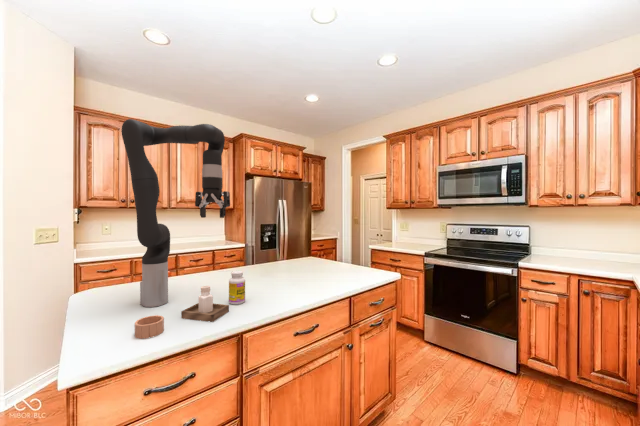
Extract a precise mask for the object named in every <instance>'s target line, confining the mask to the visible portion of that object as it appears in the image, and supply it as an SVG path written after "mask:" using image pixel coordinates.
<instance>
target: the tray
mask: <svg viewBox="0 0 640 426" xmlns="http://www.w3.org/2000/svg"><path fill="white" fill-rule="evenodd" d="M229 312H230V305H229V304H220V303H215V302H213V311H212V312H209V313H200V312H199V302H197V303H195V304H193V305H191V306H189V307H187V308H186V309H184V310H181V313H180V314H181V315H180V318H181V319H184V320H190V321H191V320H194V321H200V320H201V322H208V321H210V322H209V323H214V322H215V321H217V320H219V318H221V317H223V316H225V315H226V314H227V313H229Z"/></svg>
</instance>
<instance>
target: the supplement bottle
mask: <svg viewBox="0 0 640 426" xmlns="http://www.w3.org/2000/svg"><path fill="white" fill-rule="evenodd" d="M230 274H231V275H230V276H231V277H230V278H229V279H228V302H229V304H231V305H241V304H243V303H245V301H246V278H245V277H244V276H243V275H244V271H242V270H234V271H232V272H231V273H230Z"/></svg>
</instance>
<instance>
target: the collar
mask: <svg viewBox="0 0 640 426" xmlns="http://www.w3.org/2000/svg"><path fill="white" fill-rule="evenodd" d="M164 331H165V317H164V316H162V315H158V314H157V315H156V314H155V315H149V316H144V317H141V318H139V319H137V320H136V321H135V322H134V337H135V338H136V339H140V340H141V339H143V338H144V339H149V337H151V338H153V336H154V337H157V336H160V335H161V334H163V333H164ZM144 339H143V340H144Z"/></svg>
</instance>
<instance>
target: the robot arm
mask: <svg viewBox="0 0 640 426" xmlns="http://www.w3.org/2000/svg"><path fill="white" fill-rule="evenodd" d="M121 137H122V141H123V144H124V149H125V152H126V156H127V160H128V161H127V162H128V167H129V171H130V179H131V187H132V192H133V198H134V199H133V200H134V206H135V212H136V232H137V240H138V242H139V243H140V245H142V246H143V247H145V248H146V251H145V253H144V254H143V256H141V277H142V278H141V281H140V282H139V285H140V286H139V295H140V296H139V297H140V300H139V303H140V304H139V305H140V306H143V307H145V308H153V307H159V306H163V305H166V304H167V303H169V256H170V253H171V252H170V251H171V231H170V229H169V228H168V226H167V225H165V224H164V223H159V222H158V217H157V206H158V202H159V200H160V199H159V198H160V192H161V191H160V184H159V177H158V174H157V172H156V170H155V169H154V167H153V165H152V164H151V162H150V160H149V159H148V157H147V154H146V151H145V147H148V146H156V145H162V144H163V145H164V144H182V145H183V144H184V145H187V144H189V145H195V144H199V143H207V144H208V145H207V146H208V147H207V149H206V150H204V151H203V152H202V169H201V182H202V183H201V187H202V191H196V192H195V200H194V206H195V207H197V208H199V216H200V218H207V208H206V207H207V205H209V204H210V203H216V205H218V207H219V219H223V218H225V217H226V209H227V208H228V207H230V206H231V194H230V193H231V192H229V191H225V190H224V191H223V189H224V188H223V185H224V184H223V168H222V167H223V166H222V165H223V164H222V163H223V159H222V157H223V152H224V148H225V144H226V143H225V142H226V141H225V139H226V138H225V134H224V132H223V131H222V129H220V128H218V127H216V126H215V125H213V124H211V123H210V124H208V123H200V124H195V125H174V126H170V127H157V126H152V125H149V124H147V123H145V122H142V121H139V120H137V119H134V118H133V119H132V118H129V119H126V120H125V121H123V123H122V125H121ZM222 197H223V198H222Z"/></svg>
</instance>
